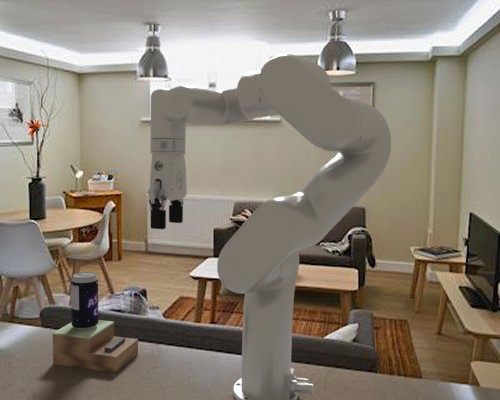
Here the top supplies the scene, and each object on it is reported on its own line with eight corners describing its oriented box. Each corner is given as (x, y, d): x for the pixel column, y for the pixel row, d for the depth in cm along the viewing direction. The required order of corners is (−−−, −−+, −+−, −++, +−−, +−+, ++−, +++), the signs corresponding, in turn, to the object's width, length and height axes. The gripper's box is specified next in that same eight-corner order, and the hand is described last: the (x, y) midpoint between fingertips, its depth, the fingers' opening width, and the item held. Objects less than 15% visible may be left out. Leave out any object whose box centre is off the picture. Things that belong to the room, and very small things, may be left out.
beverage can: (90, 333, 102) (89, 278, 101) (66, 330, 103) (65, 276, 102) (103, 323, 108) (102, 272, 107) (80, 321, 109) (80, 270, 108)
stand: (137, 353, 109) (137, 324, 108) (116, 373, 99) (116, 340, 98) (79, 346, 112) (79, 317, 111) (53, 364, 102) (52, 332, 102)
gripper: (168, 147, 93) (167, 232, 95) (197, 148, 110) (196, 221, 112) (133, 146, 95) (133, 230, 97) (167, 148, 112) (167, 219, 114)
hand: (167, 225), depth 104 cm, fingers open, 9 cm apart
